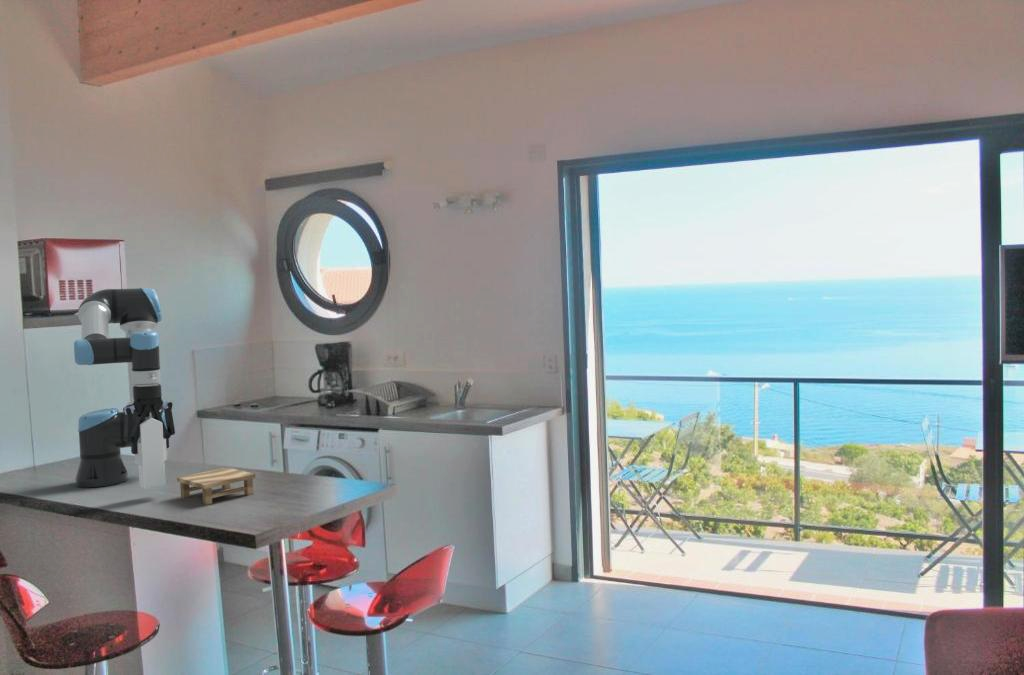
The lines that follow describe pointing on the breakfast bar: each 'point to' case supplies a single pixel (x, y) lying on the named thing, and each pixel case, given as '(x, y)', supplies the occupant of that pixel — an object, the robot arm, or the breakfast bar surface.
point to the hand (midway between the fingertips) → (151, 462)
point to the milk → (151, 454)
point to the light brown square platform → (216, 483)
